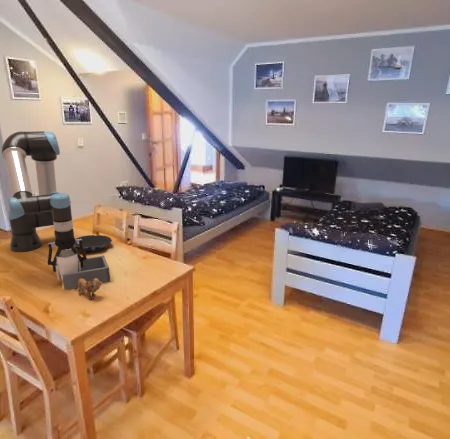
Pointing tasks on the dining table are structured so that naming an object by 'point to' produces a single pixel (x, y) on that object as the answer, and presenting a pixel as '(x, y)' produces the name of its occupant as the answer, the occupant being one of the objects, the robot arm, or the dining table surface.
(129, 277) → the dining table surface
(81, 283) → the lion figurine
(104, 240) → the board
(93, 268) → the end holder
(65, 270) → the cup
